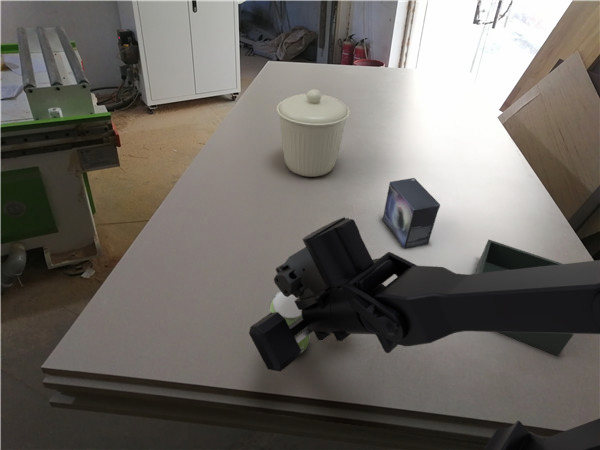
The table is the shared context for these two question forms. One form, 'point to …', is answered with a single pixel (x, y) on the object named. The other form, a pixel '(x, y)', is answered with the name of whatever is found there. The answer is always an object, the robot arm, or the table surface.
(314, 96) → the canister
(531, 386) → the table surface
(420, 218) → the small box
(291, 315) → the beverage can
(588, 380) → the table surface
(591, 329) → the robot arm
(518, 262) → the open square box
